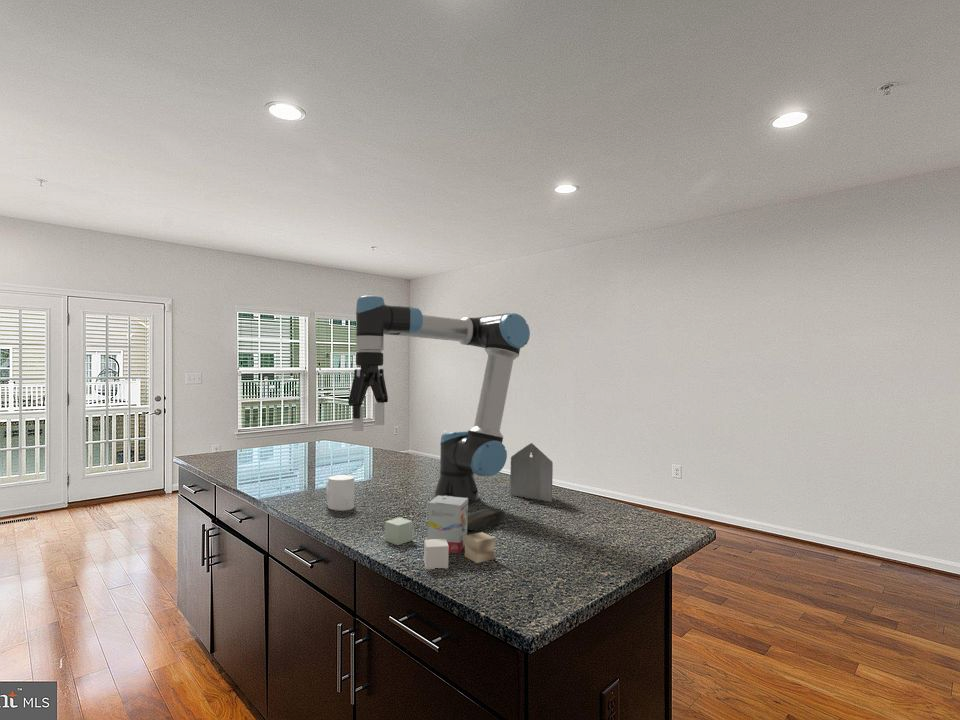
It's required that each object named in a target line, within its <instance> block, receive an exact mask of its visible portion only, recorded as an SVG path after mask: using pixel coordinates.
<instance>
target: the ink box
mask: <svg viewBox="0 0 960 720" xmlns="http://www.w3.org/2000/svg"><path fill="white" fill-rule="evenodd" d="M427 511H428V512H427V515H428V517H427V538H426V540H428V539H446V540H447V543H448V546H449V553H451V554H461V552H462V550H463V549H464V548H465V536H466V535H468V529H467V517H468V514H469V513H468V511H469V503H468V498H462V497H452V496H439V495H438V496H437V497H435V496H434V498H432V499H431V500H430V501H429V502H428V509H427Z"/></svg>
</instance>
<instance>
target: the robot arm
mask: <svg viewBox="0 0 960 720" xmlns="http://www.w3.org/2000/svg"><path fill="white" fill-rule="evenodd" d="M355 319H356V322H355V323H356V324H355V325H356V326H355V328H356V329H355V330H356V332H355V333H356V334H355V336H356V337H355V341H354V342H355V344H356V345H355V348H356V349H355V350H356V351H357V352H356V353H355V365H356V366H359V367H360V368H354V371H353V372H354V373H353V379H352V384H351V388H350V392H349V395H348V396H349V397H348V400H347V401H348V402H347V403H348V406H349V407H352V431H353V432H355V431H356V432H363V431H364V406H363V402H364V400H365V397H366V394H367V391H368V389H369V388H370V389H371V391H372V393H373V397H374V399H375V402H374V426H384V425H385V403H388V402H389V400H388V399H389V397H388V392H387V391H388V390H387V385H386V382H385V376H384V375H385V374H384V372H385V371H384V368H379V367H381V366H383V365H384V353H383V351H384V348H385V346H384V342H385V341H384V336H385V335H386V336H387V335H388V336H389V335H390V336H399V337H400V336H401V337H410V338H421V339H430V340H431V339H432V340H442V341H443V340H444V341H453V342H459V343H460V345H464V346H465V345H466V346H472V347H478V348H483V349H484V351H485V352H486V354H487V360H486V367H485V369H484V375H483V381H482V384H481V385H482V387H481V389H480V393H479V401H478V404H477V410H476V414H475V418H474V419H475V421H474V425H473V426H472V427H470V428H469V429H468V431H467V430H466V431H450V432H443V433H442V434H441V435H440V444H439V445H440V461H439V465H440V467H439V469H440V470H439V473H440V474H439V478H438V481H437V484H436V486H435V490H434V498H435V497H437V496H438V495H439V496H452V497H462V498H468V504H469V503H474V502H476V501H478V500H479V489H478V486H477V483H476V480H475V477H474V475H476V476H478V477H487V478H488V477H489V478H490V477H494V476H495V475H497V474H498V473H499V472H501V471H502V469H504V466H505V464H506V462H507V459H508V452H507V449H506V447H505V445H504V443H503V442H504V441H503V439H504V435H503V434H502V432H501V431H500V430H501V426H502V423H503V416H504V410H505V405H506V400H507V394H508V389H509V384H510V380H511V374H512V369H513V364H514V360H516V359H518V358H519V357H520V352H521V349H522V348H524V347H525V346H526V345H527V344H528V343H529V340H530V337H531V332H530V326H529V324H528V323H527V320H526V319H525V318H524V317H523V316H522V315H520V314H518V313H514V312H512V313H510V312H506V313H501V314H495V315H494V314H493V315H485V316H479V317H462V318H460V319H458V318H449V317H442V316H434V315H426V314H423V313H422V311H421V310H420V308H417V307H413V306H400V305H399V306H398V305H388V304H385V300H384V298H383V297H381V296H378V295H363V296H359V297H358V298H357V300H356V306H355Z"/></svg>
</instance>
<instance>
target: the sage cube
mask: <svg viewBox="0 0 960 720" xmlns="http://www.w3.org/2000/svg"><path fill="white" fill-rule="evenodd" d="M413 523H414V522H413V521H412V520H410V519H406V518H404V517H400V516H399V517H396V518H392V519H389V520H385V521H384V542H387V543H390V544H393V545H396V546H399V545H403V544H405V543H408V542H411V541H413V531H414V530H413V527H414V526H413Z"/></svg>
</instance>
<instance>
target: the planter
mask: <svg viewBox="0 0 960 720" xmlns="http://www.w3.org/2000/svg"><path fill="white" fill-rule="evenodd" d="M553 466H554V465H553V461H552V460H551V459H550V458H549V457H548V456H547V455H546V454H545V453H544V452H543V451H541V450H540V449H539V448H538V447H537V446H536V445H535V444H533V442H531V443H529V444H527V445H526V446H524V447H523V448H521V449H520V450H518V451H517V452H515V453H514V454H513V455H512V456H511V457H510V474H509V475H510V477H509V478H510V479H509V481H510V482H509V483H510V485H509V495H510V496H511V495H513V497H517V496H520V497H519V498H523V497H526V499H529V498H531V500H535V499H537V500H536V501H541V500H544V501H543V502H547V501H550V502H549V503H552V502H553V473H554V472H553V471H554V470H553V468H554V467H553Z"/></svg>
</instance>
